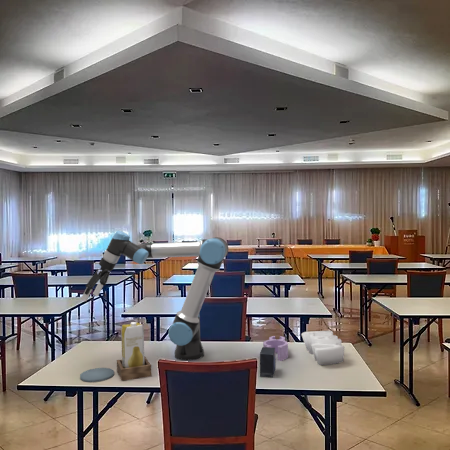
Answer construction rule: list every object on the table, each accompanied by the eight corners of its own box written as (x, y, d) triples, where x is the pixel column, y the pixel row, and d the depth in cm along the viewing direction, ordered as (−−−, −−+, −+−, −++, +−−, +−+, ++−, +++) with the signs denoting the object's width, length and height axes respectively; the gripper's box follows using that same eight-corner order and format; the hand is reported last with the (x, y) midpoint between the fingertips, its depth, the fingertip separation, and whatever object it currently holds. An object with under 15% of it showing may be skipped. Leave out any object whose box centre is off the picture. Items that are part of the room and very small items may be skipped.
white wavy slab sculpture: (348, 367, 206) (347, 345, 206) (312, 368, 206) (312, 346, 206) (330, 345, 241) (330, 326, 241) (300, 346, 241) (299, 327, 241)
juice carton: (127, 378, 200) (125, 325, 200) (121, 373, 207) (119, 321, 206) (146, 373, 205) (145, 322, 205) (139, 368, 212) (138, 318, 211)
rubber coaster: (111, 368, 214) (111, 365, 214) (116, 378, 200) (116, 376, 200) (79, 373, 208) (79, 370, 208) (81, 384, 194) (81, 381, 194)
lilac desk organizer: (266, 348, 239) (266, 335, 239) (289, 349, 237) (289, 336, 237) (261, 360, 220) (261, 346, 219) (287, 361, 217) (286, 347, 217)
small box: (274, 377, 196) (273, 354, 196) (259, 377, 197) (259, 353, 197) (276, 369, 206) (275, 347, 206) (262, 368, 208) (261, 346, 207)
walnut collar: (145, 366, 215) (144, 356, 215) (151, 376, 202) (151, 365, 202) (116, 370, 210) (116, 360, 210) (121, 380, 197) (121, 369, 197)
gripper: (112, 254, 233) (93, 289, 234) (92, 258, 208) (71, 297, 209) (124, 261, 232) (105, 297, 233) (105, 266, 207) (85, 305, 208)
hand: (89, 297), depth 221 cm, fingers open, 13 cm apart
